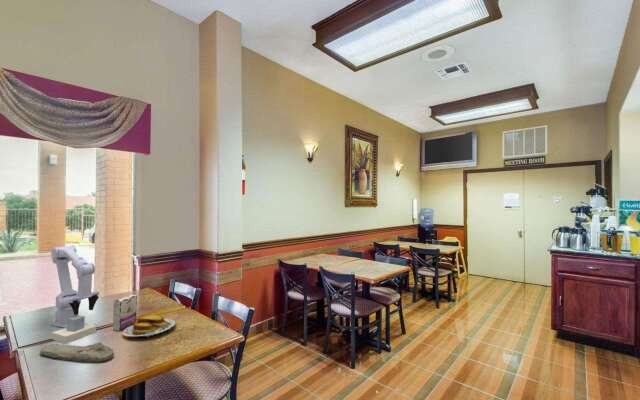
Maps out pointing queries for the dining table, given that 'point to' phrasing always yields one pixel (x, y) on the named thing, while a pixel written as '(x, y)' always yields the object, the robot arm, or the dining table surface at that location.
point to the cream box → (73, 334)
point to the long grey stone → (78, 352)
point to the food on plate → (148, 326)
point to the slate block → (75, 323)
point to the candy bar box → (124, 312)
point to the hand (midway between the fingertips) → (83, 312)
